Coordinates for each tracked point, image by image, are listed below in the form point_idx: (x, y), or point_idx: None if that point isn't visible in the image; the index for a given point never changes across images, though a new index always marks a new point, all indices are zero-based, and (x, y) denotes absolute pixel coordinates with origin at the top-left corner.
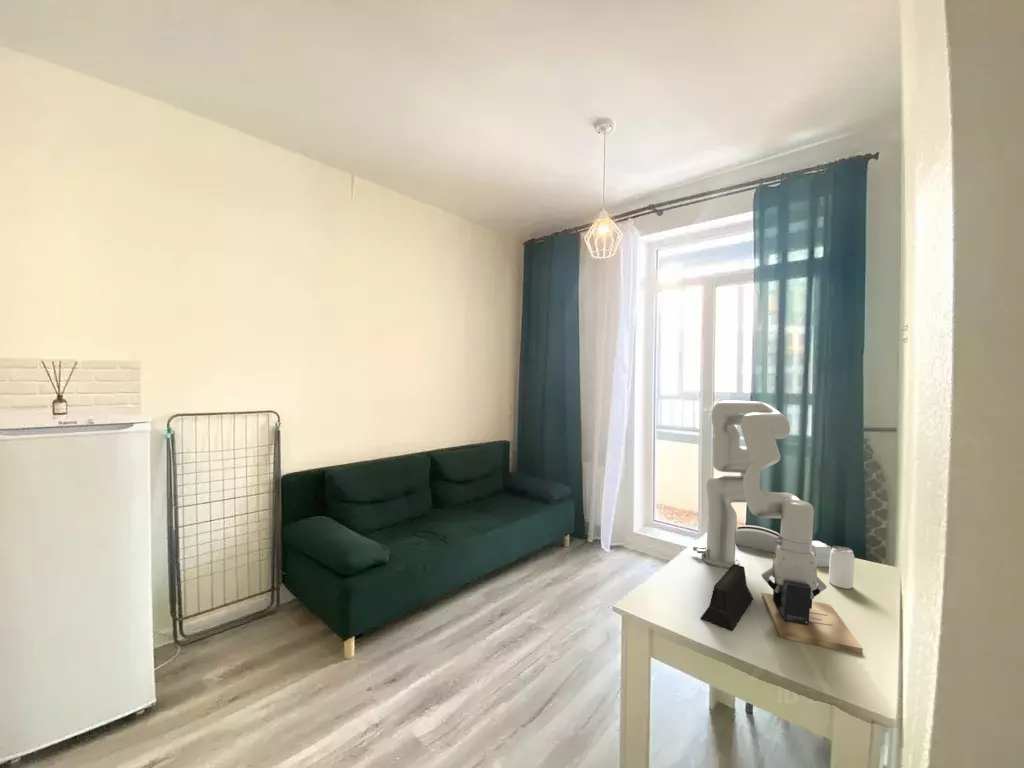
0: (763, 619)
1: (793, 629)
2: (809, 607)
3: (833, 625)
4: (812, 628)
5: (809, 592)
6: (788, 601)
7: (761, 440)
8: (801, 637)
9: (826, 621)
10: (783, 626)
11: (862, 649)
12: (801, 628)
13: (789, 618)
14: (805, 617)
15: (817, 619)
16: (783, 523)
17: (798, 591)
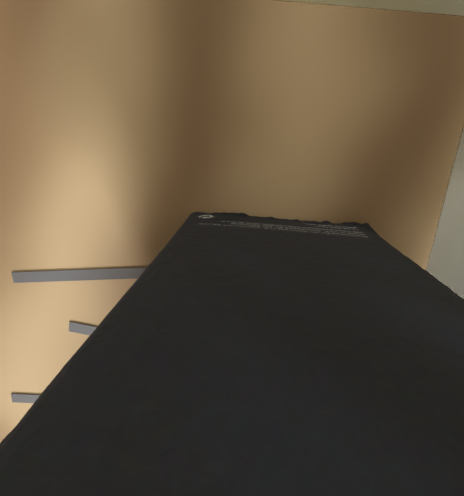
0: (458, 277)
1: (342, 109)
2: (154, 260)
3: (6, 275)
4: (174, 180)
5: (55, 412)
6: (426, 293)
7: None
8: (315, 8)
9: (40, 315)
10: (408, 137)
11: None
12: (265, 150)
13: (338, 226)
14: (210, 227)
15: (94, 326)
16: None
17: (353, 420)
